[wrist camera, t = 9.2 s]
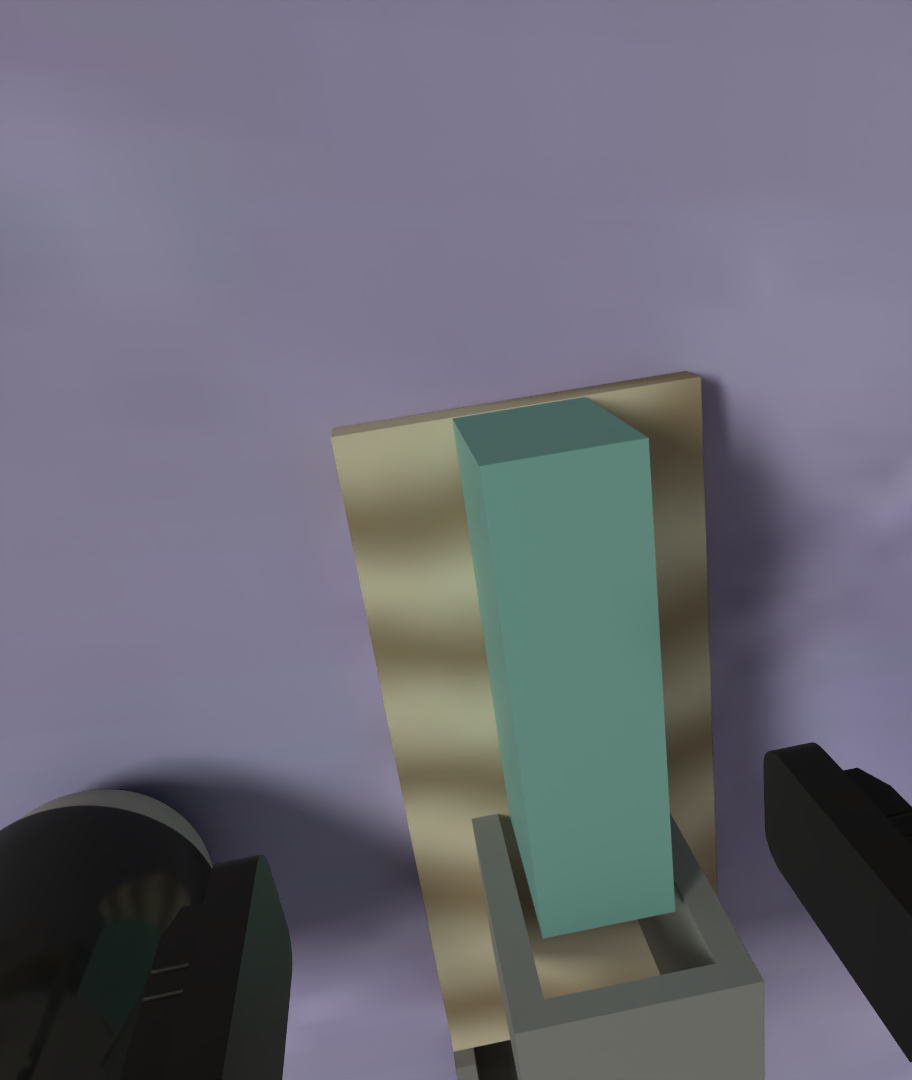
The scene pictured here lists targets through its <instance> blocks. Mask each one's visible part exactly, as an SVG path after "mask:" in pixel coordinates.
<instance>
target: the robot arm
mask: <svg viewBox="0 0 912 1080" xmlns="http://www.w3.org/2000/svg"><path fill="white" fill-rule="evenodd" d="M764 806H765V832H766V837H767V842H768V845H769V848H770V851H771V854H772V857H773V859H774V861H775V863H776V865H777V867H778V868H779V870H780V872H781V873H782V875H783V876H784V878H785V879H786V881H787V882H788V883H789V885H790V886H791V888H792V889H793V891H794V892H795V894H796V895H797V897H798V898H799V900H800V901H801V903H802V904H803V905H804V907H805V908H806V910H807V911H808V913H809V914H810V916H811V917H812V919H813V920H814V922H815V923H816V925H817V926H818V928H819V929H820V930H821V932H822V933H823V935H824V936H825V938H826V939H827V941H828V942H829V944H830V945H831V947H832V948H833V950H834V951H835V953H836V954H837V955H838V957H839V958H840V960H841V961H842V963H843V964H844V966H845V967H846V969H847V970H848V972H849V973H850V975H851V976H852V978H853V979H854V980H855V982H856V983H857V985H858V986H859V988H860V989H861V991H862V992H863V994H864V995H865V997H866V998H867V1000H868V1001H869V1003H870V1004H871V1005H872V1007H873V1008H874V1010H875V1011H876V1013H877V1014H878V1016H879V1017H880V1019H881V1020H882V1022H883V1023H884V1025H885V1026H886V1027H887V1029H888V1030H889V1032H890V1033H891V1035H892V1036H893V1038H894V1039H895V1041H896V1042H897V1044H898V1045H899V1047H900V1048H901V1050H902V1051H903V1052H904V1054H905V1055H906V1057H907V1058H908V1060H909V1061H910V1062H912V807H911V806H910V805H909V804H908V803H907V802H906V801H905V800H904V799H903V798H902V797H901V796H900V795H899V794H898V793H897V792H896V791H895V790H894V789H893V788H892V787H891V786H890V785H888V784H886V783H885V782H883V781H881V780H879V779H877V778H875V777H874V776H872V775H870V774H868V773H866V772H864V771H863V770H861V769H859V768H854V769H849V770H844V771H843V770H842V769H841V768H840V767H839V766H838V765H837V764H836V763H835V761H834V760H833V759H832V758H831V757H830V756H829V755H828V754H827V753H826V752H825V751H824V750H823V749H822V748H821V747H820V746H819V745H818V744H816V743H807V744H802V745H797V746H792V747H787V748H782V749H778V750H773V751H768V752H767V753H766V754H765V757H764ZM291 978H292V950H291V941H290V935H289V930H288V926H287V923H286V920H285V916H284V913H283V910H282V907H281V903H280V900H279V897H278V893H277V890H276V887H275V884H274V880H273V877H272V874H271V870H270V867H269V864H268V861H267V859H266V857H265V856H264V855H262V854H261V855H256V856H252V857H247V858H242V859H237V860H232V861H227V862H222V863H218V864H215V865H214V866H213V868H212V870H211V873H210V877H209V882H208V886H207V890H206V894H205V898H204V903H199V904H194V905H190V906H185V907H182V908H181V909H180V911H179V912H178V913H177V915H176V916H175V918H174V919H173V920H172V922H171V923H170V925H169V926H168V927H167V929H166V930H165V932H164V933H163V934H162V936H161V937H160V940H159V943H158V947H157V950H156V954H155V957H154V961H153V964H152V968H151V976H149V978H148V982H147V985H146V989H145V992H144V995H143V999H144V1002H143V1003H142V1004H141V1006H140V1009H139V1013H138V1016H137V1020H136V1023H135V1027H134V1030H133V1034H132V1037H131V1040H130V1044H129V1047H128V1051H127V1054H126V1058H125V1061H124V1065H123V1068H122V1072H121V1075H120V1079H119V1080H282V1075H283V1065H284V1054H285V1043H286V1032H287V1021H288V1010H289V999H290V989H291Z"/></svg>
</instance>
